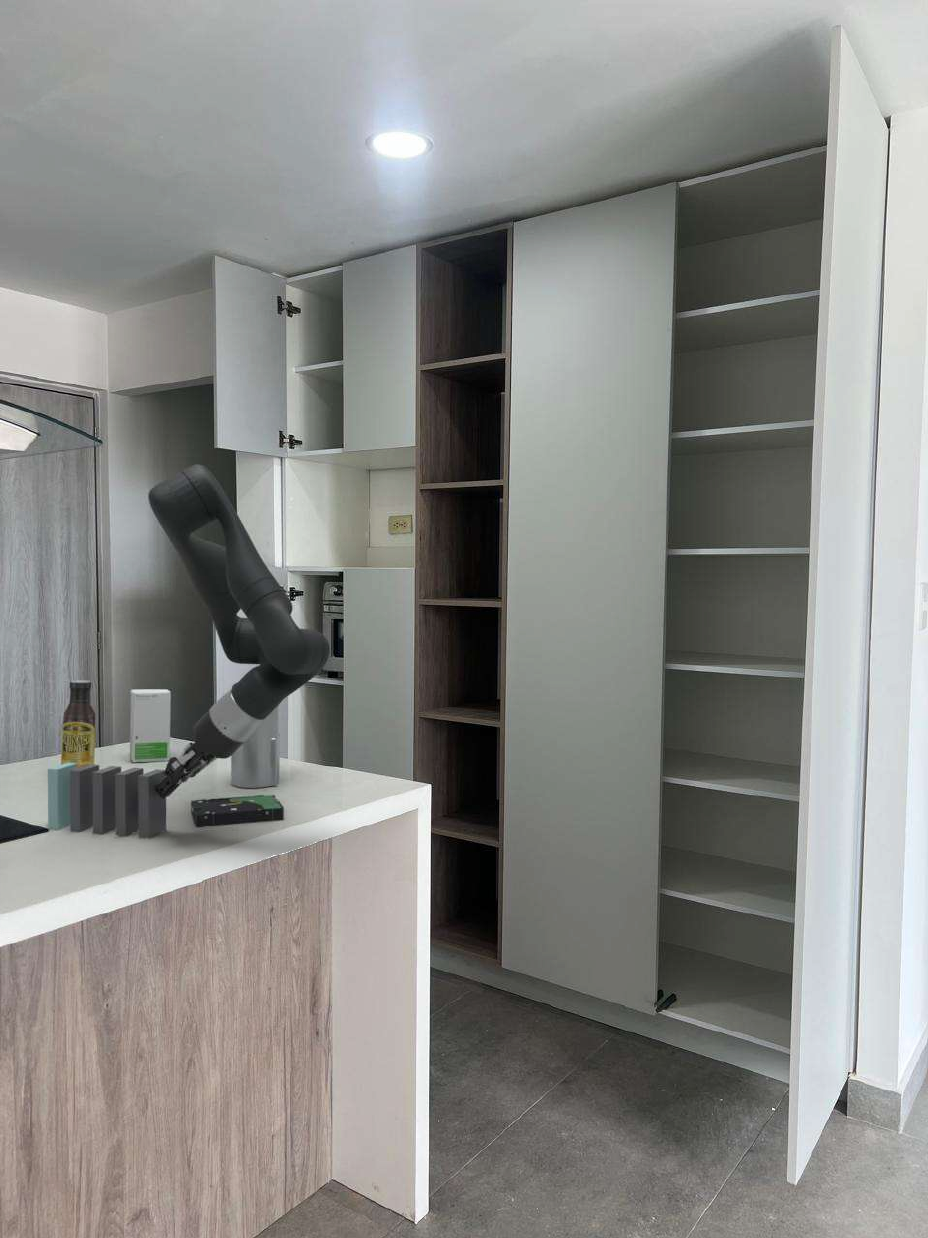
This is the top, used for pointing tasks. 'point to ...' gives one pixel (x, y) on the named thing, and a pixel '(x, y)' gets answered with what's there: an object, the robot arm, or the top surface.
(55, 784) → the domino
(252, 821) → the disk drive
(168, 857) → the top surface
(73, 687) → the sauce bottle
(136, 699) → the skincare box
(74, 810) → the domino
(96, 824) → the domino
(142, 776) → the domino
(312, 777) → the top surface
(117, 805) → the domino
